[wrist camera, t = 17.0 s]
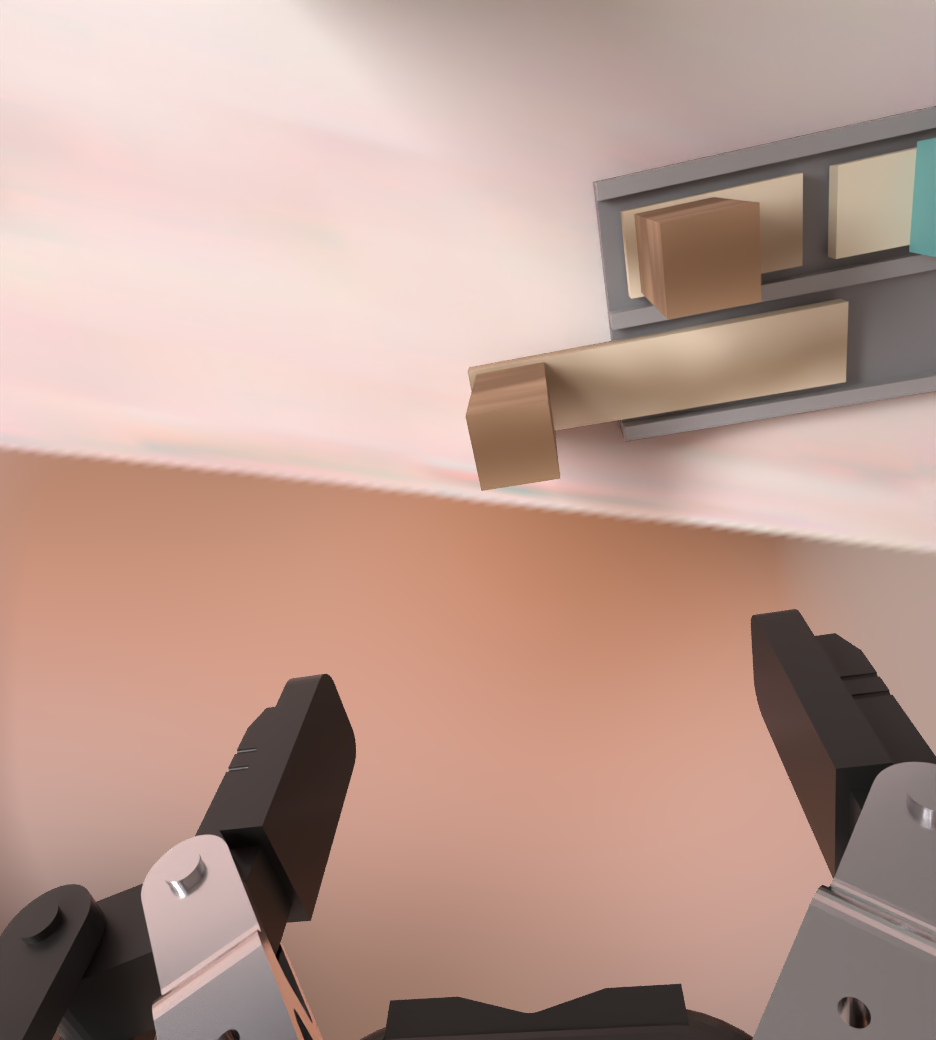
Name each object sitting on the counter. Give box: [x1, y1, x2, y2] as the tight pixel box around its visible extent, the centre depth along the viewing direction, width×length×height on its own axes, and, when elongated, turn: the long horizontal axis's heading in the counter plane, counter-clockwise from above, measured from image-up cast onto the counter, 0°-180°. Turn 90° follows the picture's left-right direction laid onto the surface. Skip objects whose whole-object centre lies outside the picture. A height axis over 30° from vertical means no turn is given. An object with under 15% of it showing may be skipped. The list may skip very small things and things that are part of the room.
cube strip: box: [466, 299, 849, 491], centre depth 33 cm, size 4×19×8 cm, turn 102°
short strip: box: [620, 173, 803, 319], centre depth 30 cm, size 4×8×8 cm, turn 101°
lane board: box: [593, 106, 936, 441], centre depth 34 cm, size 13×21×2 cm, turn 102°
